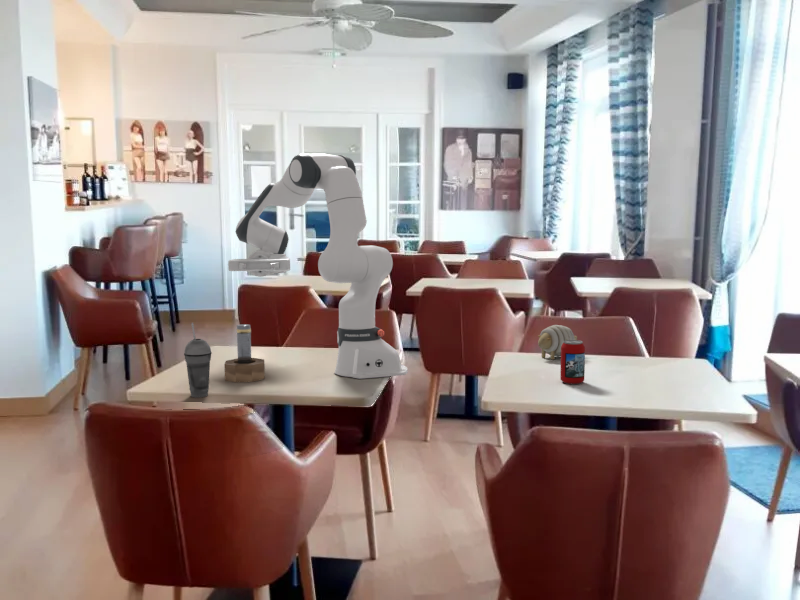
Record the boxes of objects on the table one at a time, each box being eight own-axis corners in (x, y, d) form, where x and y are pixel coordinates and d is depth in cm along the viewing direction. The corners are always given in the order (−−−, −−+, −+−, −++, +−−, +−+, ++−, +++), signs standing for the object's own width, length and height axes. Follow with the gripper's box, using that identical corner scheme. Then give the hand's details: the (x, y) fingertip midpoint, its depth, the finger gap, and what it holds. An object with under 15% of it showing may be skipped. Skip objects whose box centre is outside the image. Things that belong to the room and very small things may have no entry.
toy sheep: (528, 358, 256) (528, 325, 255) (562, 352, 266) (562, 320, 265) (552, 362, 248) (553, 329, 247) (586, 356, 258) (586, 324, 257)
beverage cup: (209, 398, 203) (206, 324, 201) (182, 398, 204) (179, 324, 201) (216, 392, 211) (213, 320, 208) (190, 392, 211) (187, 320, 209)
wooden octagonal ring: (265, 373, 235) (264, 357, 234) (263, 381, 223) (263, 364, 223) (227, 374, 233) (226, 358, 233) (223, 383, 222) (223, 366, 221)
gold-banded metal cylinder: (252, 376, 231) (251, 324, 229) (251, 379, 227) (250, 326, 225) (238, 376, 230) (236, 324, 228) (237, 379, 226) (235, 326, 224)
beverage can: (570, 386, 215) (571, 344, 214) (555, 381, 221) (556, 340, 220) (589, 383, 218) (590, 342, 217) (573, 379, 224) (574, 338, 223)
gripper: (229, 254, 258) (225, 257, 244) (290, 253, 261) (289, 256, 247) (229, 273, 258) (226, 276, 245) (290, 272, 261) (290, 275, 248)
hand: (258, 266), depth 246 cm, fingers open, 8 cm apart
